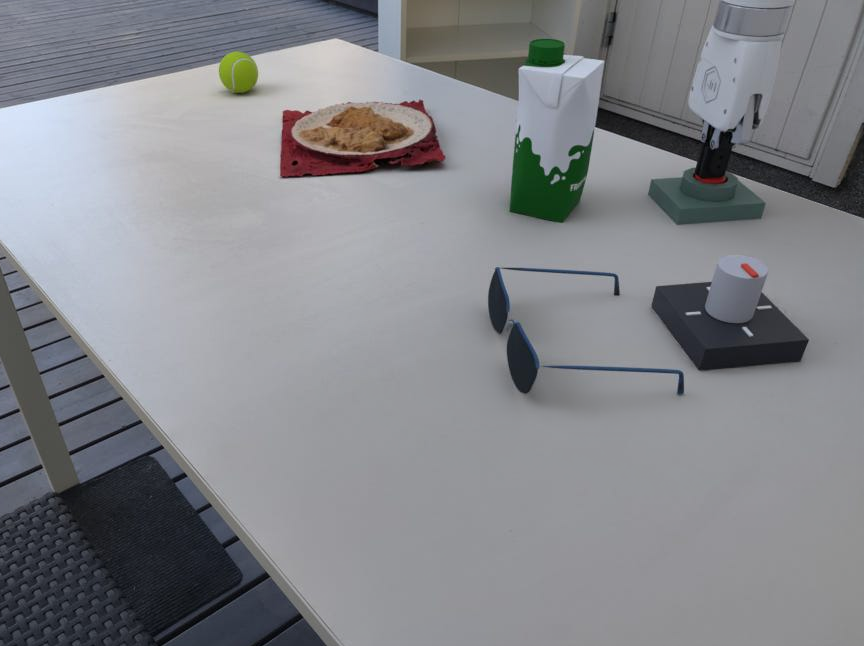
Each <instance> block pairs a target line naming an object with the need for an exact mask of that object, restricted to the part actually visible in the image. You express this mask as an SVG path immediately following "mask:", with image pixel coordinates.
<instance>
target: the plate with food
mask: <svg viewBox="0 0 864 646" xmlns="http://www.w3.org/2000/svg"><path fill="white" fill-rule="evenodd" d="M436 134H437V129H436V124H435V122H434V119H433V117H432V116H431V115H429V113H428V112H427V111H426V108H425V104H424V100H423V99H421V98H420V99H418V101H415V100H414V99H413V100H411V101H410V102H408V101H407V100H404V101H402V102H400V103H392V102H383V101H380V102H379V101H370V102H369V101H367V102H351V101H348V102H346V103H344V102H343V103H340V104H334V105H330V106H327V107H325V108H319V109H318V110H317V111H310V110H305V111H304V112H302V111H300V110H297V109H295V110H290V109H285V110H282V129H281V143H280V149H281V150H280V163H279V164H280V165H279V167H280V168H279V169H280V172H279V176H280V177H285V178H289V177H295V176H298V177H303V176H304V175H306V174H311V175H312V176H325V175H329V174H330V175H331V174H332V175H335V174H342V173H355V172H356V173H359V172H368V171H370V170H372V169H377V168H379V164H378V163H376V162H375V160H378V159H379V160H381V159H389V161H388V164H390V165H394V164H397V163H398V164H399V163H400V166H402V167H405V166H406V167H414V166H417V165H423V164H424V165H427V164H428V163H430V162H432V161H433V162H438V163H441V162H443V161H445V160H446V158H447V157H446V155H445V154H444V152H443V151H442V148H441V145H440V142H439V140H438V138H439V136H438V135H436ZM405 155H407V156H405ZM404 156H405V157H404ZM399 157H400V158H399ZM295 161H296V162H297V164H295V165H293V163H295Z"/></svg>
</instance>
